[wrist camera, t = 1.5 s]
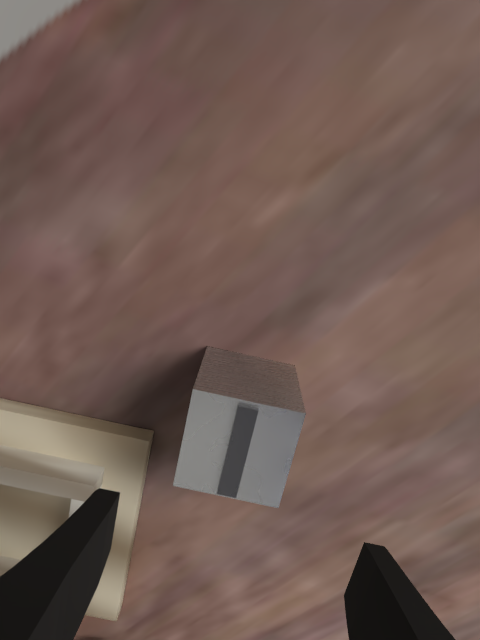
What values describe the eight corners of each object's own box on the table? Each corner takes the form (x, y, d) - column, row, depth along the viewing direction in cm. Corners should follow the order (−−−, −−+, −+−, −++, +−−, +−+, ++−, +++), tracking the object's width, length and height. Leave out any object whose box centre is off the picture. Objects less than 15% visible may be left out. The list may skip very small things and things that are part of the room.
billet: (273, 441, 22) (278, 511, 17) (190, 423, 22) (172, 488, 17) (294, 364, 21) (306, 416, 16) (207, 345, 21) (192, 391, 16)
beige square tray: (121, 605, 26) (108, 647, 23) (-79, 564, 25) (-114, 603, 23) (154, 430, 22) (141, 458, 20) (-76, 381, 22) (-116, 404, 20)
